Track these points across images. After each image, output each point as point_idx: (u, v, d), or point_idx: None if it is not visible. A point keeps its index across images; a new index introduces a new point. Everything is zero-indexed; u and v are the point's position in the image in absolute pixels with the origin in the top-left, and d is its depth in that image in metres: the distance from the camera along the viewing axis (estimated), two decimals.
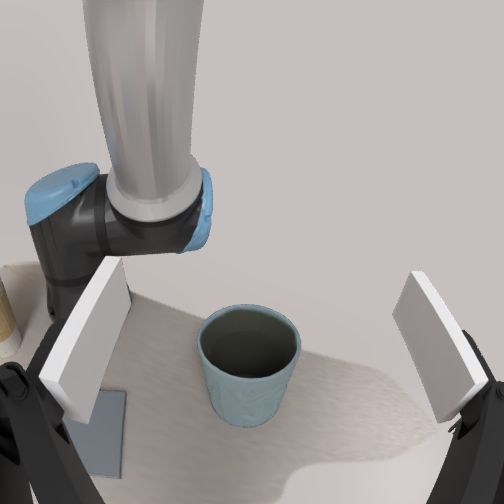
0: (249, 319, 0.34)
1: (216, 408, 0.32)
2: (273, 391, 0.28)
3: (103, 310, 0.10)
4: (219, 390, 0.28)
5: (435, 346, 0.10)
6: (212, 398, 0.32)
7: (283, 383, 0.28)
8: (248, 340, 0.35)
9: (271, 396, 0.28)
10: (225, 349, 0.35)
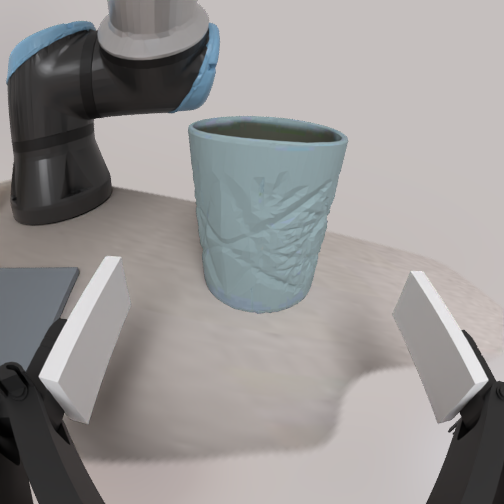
0: (264, 139, 0.23)
1: (212, 275, 0.21)
2: (312, 201, 0.17)
3: (103, 310, 0.10)
4: (219, 201, 0.17)
5: (435, 346, 0.10)
6: (206, 253, 0.21)
7: (327, 189, 0.17)
8: None
9: (308, 216, 0.18)
10: None
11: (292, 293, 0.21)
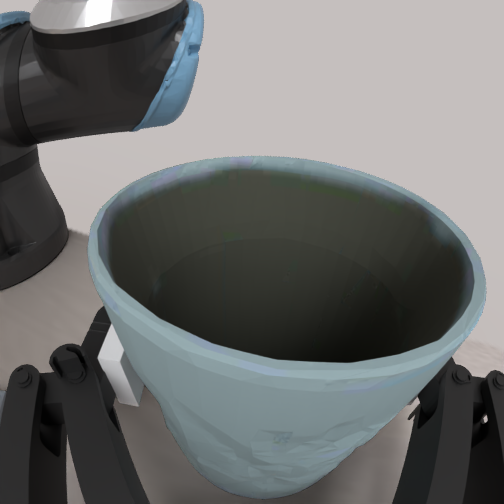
0: (277, 202, 0.12)
1: (187, 456, 0.11)
2: None
3: None
4: (176, 421, 0.06)
5: None
6: None
7: None
8: (273, 271, 0.14)
9: (375, 431, 0.07)
10: (211, 297, 0.13)
11: (318, 480, 0.10)
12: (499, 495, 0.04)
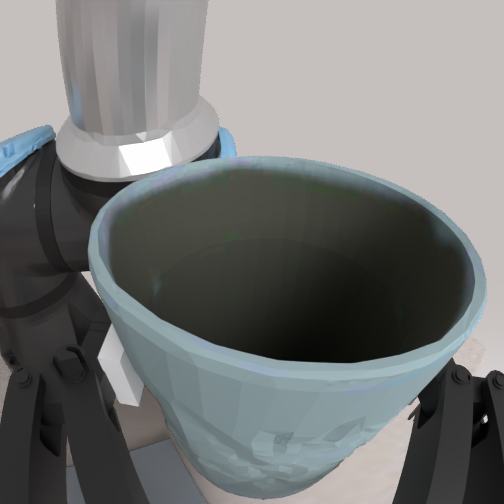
0: (278, 202, 0.12)
1: (187, 456, 0.11)
2: None
3: None
4: (177, 421, 0.06)
5: None
6: None
7: None
8: (273, 271, 0.14)
9: (376, 432, 0.07)
10: (211, 297, 0.13)
11: None
12: (500, 495, 0.04)
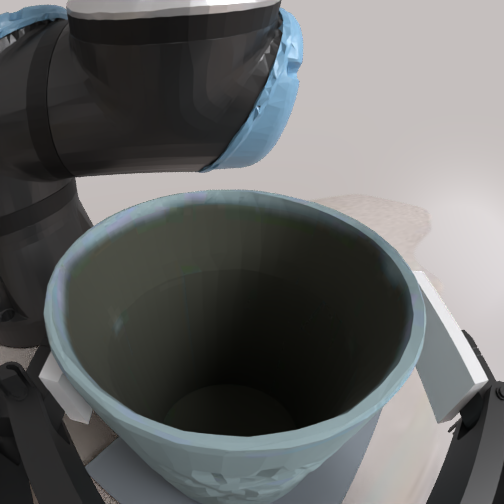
0: (233, 235, 0.13)
1: None
2: None
3: None
4: (135, 451, 0.07)
5: (435, 346, 0.10)
6: None
7: None
8: (233, 299, 0.14)
9: (319, 463, 0.07)
10: (175, 325, 0.14)
11: (284, 494, 0.11)
12: None
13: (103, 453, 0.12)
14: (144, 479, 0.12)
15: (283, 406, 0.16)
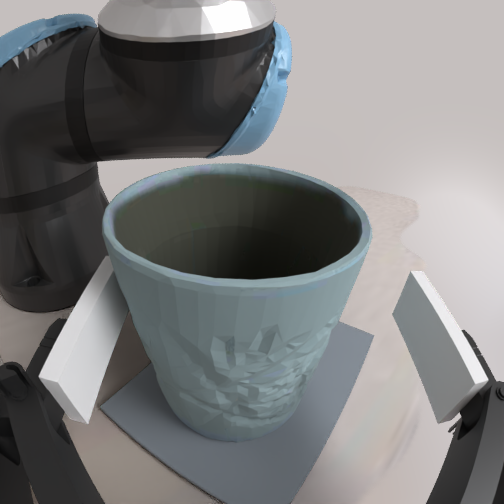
0: (231, 198, 0.16)
1: (172, 404, 0.14)
2: (313, 341, 0.10)
3: (103, 310, 0.10)
4: (162, 349, 0.10)
5: (435, 346, 0.10)
6: (159, 381, 0.14)
7: (337, 316, 0.11)
8: (231, 252, 0.18)
9: (306, 358, 0.11)
10: None
11: (280, 421, 0.14)
12: None
13: (119, 393, 0.16)
14: (155, 413, 0.15)
15: None
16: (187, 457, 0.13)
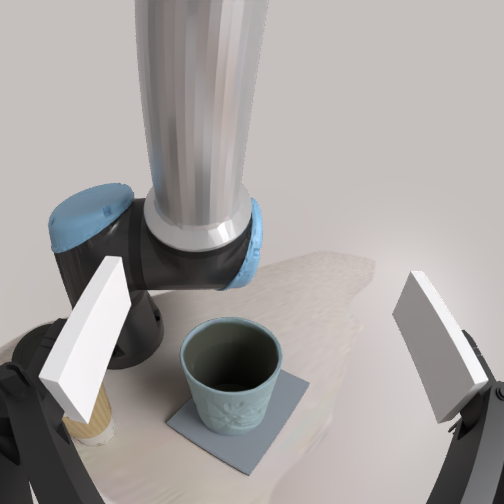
0: (229, 332, 0.34)
1: (204, 420, 0.32)
2: (259, 401, 0.28)
3: (103, 310, 0.10)
4: (206, 404, 0.28)
5: (435, 346, 0.10)
6: (199, 411, 0.32)
7: (268, 393, 0.28)
8: (230, 351, 0.35)
9: (257, 406, 0.28)
10: (207, 362, 0.35)
11: (252, 427, 0.32)
12: None
13: (175, 415, 0.34)
14: (194, 424, 0.33)
15: None
16: (211, 443, 0.31)
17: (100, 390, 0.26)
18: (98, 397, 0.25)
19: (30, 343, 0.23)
